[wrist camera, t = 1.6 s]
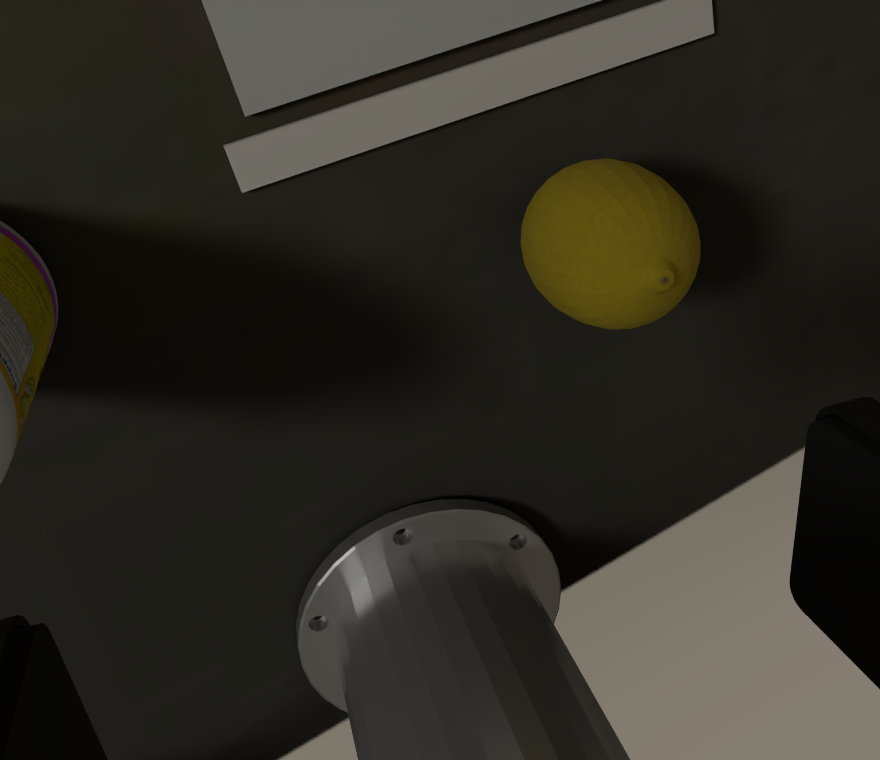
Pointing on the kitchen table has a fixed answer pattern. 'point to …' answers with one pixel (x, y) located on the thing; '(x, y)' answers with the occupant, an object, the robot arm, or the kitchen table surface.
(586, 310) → the lemon
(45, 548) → the kitchen table surface
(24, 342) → the supplement bottle
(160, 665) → the kitchen table surface
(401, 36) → the mat
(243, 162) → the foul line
